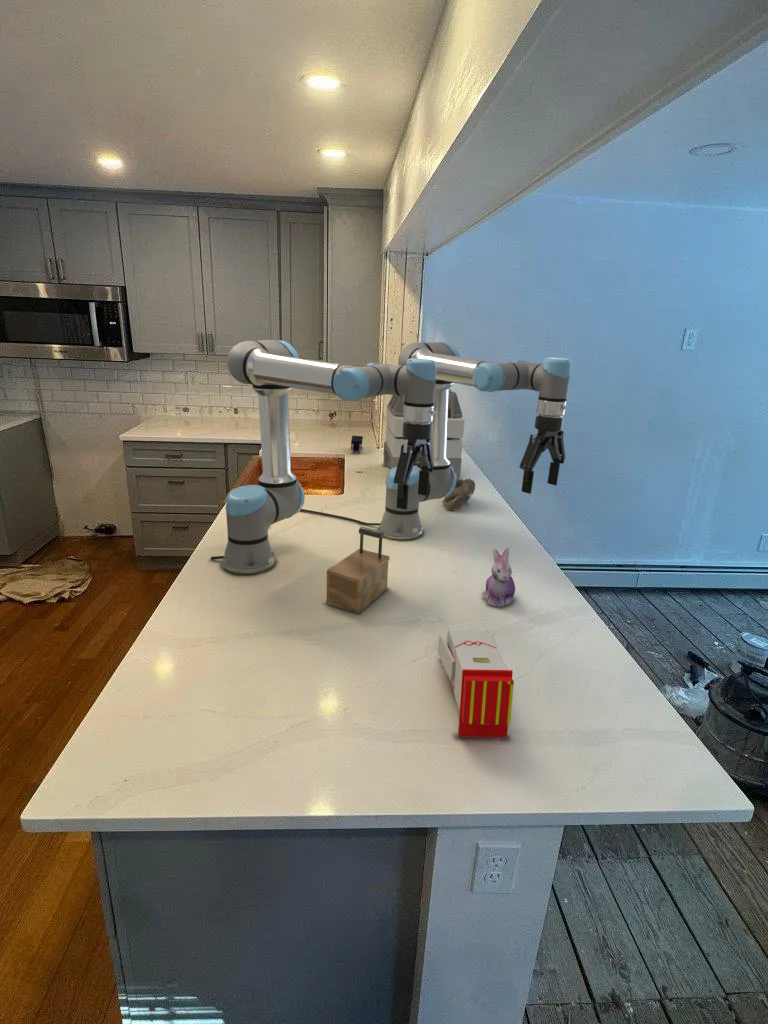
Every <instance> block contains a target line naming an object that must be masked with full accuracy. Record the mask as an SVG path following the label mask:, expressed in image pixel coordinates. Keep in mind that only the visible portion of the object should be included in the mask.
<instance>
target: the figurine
mask: <svg viewBox="0 0 768 1024" xmlns="http://www.w3.org/2000/svg"><path fill="white" fill-rule="evenodd" d="M492 552H493V553H492V554H493V564H492V567H491V569H490V570H491V575H490V576H489V577H488V578H487V579H486V581H485V591H484V599H485V600H486V601H487V603H488V604H489V605H491V606H494V607H504V606H508V605H510V604H511V603H512V602H513V600H514V596H515V593H516V584H515V581H514V579H513V577H512V573H513V570H512V566H511V564H510V562H509V557H510V548H509V547H505V549H504V550H503V552H502V553H501V554H500V552H499V551H498V549H497V548H493V549H492Z"/></svg>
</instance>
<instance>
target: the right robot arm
mask: <svg viewBox="0 0 768 1024" xmlns="http://www.w3.org/2000/svg"><path fill="white" fill-rule="evenodd" d="M411 358H419V359H430V360H433V361H435V363H436V378H437V380H436V385H435V396H434V411H435V414H433V421H432V422H430V423H432V425H433V426H432V437H431V449H432V457H433V464H434V466H433V472H430V474H429V488H428V495H427V496H425V495H420V494H418V485H419V471H423V470H421V468H420V465H419V462H418V464H417V466H413V469H412V471H411V474H410V477H409V480H408V483H407V484H408V485H409V489H408V505H407V509H406V510H405V509H400V508H397V490H398V484H395V483H394V477H395V473H396V469H397V467H394V468H392V469H391V470H390V469H389V470H388V472H387V475H386V479H385V504H384V505H385V507H384V508H385V509H384V513H383V515H382V519H381V522H365V521H361V520H358V519H355V518H350V517H347V516H342V515H338V514H331V513H326V512H321V511H316V510H310V509H304V508H301V510H300V511H299V512H304V513H305V512H306V513H311V514H316V515H322V516H326V517H330V518H331V517H333V518H336V519H340V520H341V519H342V520H346V521H351V522H355V523H357V524H361V525H365V526H378V531H382V532H384V537H383V538H387V539H389V540H395V541H410V540H415V539H418V538H420V537H421V536H422V535H423V525H422V524H421V518H420V515H419V507H420V506H419V505H420V503H421V502H426V501H427V502H428V501H432V500H438V499H442V498H444V497H445V496H448V495H449V494H450V493H452V491H453V490H454V488H455V485H456V473H454V469H453V468H452V467H451V466H450V461H449V460H448V459H447V458H446V447H447V421H448V396H449V389H451V387H452V386H453V385H454V384H459V385H464V386H468V387H473V388H476V389H477V390H478V391H479V392H485V393H493V392H500V391H503V392H504V391H516V390H517V391H519V390H526V391H527V390H528V391H535V392H538V400H537V406H536V412H535V413H536V415H535V421H534V429H536V430H537V433H536V434H533V433H531V434H530V435H529V440H528V444H527V446H526V449H525V451H524V454H523V456H522V459H521V462H520V463H519V467H518V468H519V469H521V470H523V475H522V485H521V492H522V493H525V494H529V495H530V494H532V490H533V482H534V474H535V471H534V468H535V466H536V464H537V462H538V461H539V460H540V458H541V455H542V454H543V453H544V452H546V450H548V452H549V455H550V458H551V461H550V463H549V469H548V476H547V482H546V483H547V484H549V485H552V486H558V479H559V473H560V466H561V465H563V464H564V463H565V461H566V450H565V441H564V434H565V431H564V430H563V426H564V417H563V416H564V415H565V411H566V409H567V406H566V405H567V397H568V393H569V388H570V387H569V386H570V381H571V377H572V361H571V359H569V358H565V357H550V356H549V357H545V358H544V359H543V361H542V363H537V362H530V361H526V360H512V361H511V362H495V361H488V360H482V359H476V358H475V359H474V358H469V357H462V356H461V353H460V352H459V349H457V347H456V346H455V345H454V344H452V343H451V342H449V343H448V342H442V341H439V342H438V341H436V342H420V341H419V342H418V341H417V342H412V343H409V344H407V345H406V346H405V347H403V349H401V350H400V353H399V356H398V360H397V361H398V364H397V365H399V366H406V362H407V360H408V359H411ZM429 463H430V462H429Z"/></svg>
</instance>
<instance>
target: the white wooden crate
mask: <svg viewBox="0 0 768 1024" xmlns="http://www.w3.org/2000/svg"><path fill="white" fill-rule="evenodd" d="M403 413H404V396H397V395H391V398H390V400H389V402H388V404H387V405H386V413H385V414H386V415H385V423H386V428H385V438H384V442H383V466H384V467H388V468H389V471H390V470H391V469H392V468H394V467H397V465H398V461H399V457H400V453H401V445H402V444H403V445H407V442H408V439H407V438H405V437H404V436H403V435H402V433H403V423H404V422H405V420H404V419H403ZM464 429H465V419H464V418H463V411H462V408H461V405H460V402H459V398H458V395H457V392H455V391H453V390H452V389H451V388H449V396H448V421H447V447H446V458H447V459H448V460H449V461H450V466H451V467H452V468H453V469H454V473H456V480H461V472H462V461H463V460H462V453H463V442H464V441H463V440H462V439H463V438H464V431H465V430H464ZM417 464H418V460H417V462H415V463H414V466H417Z"/></svg>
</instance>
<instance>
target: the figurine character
mask: <svg viewBox="0 0 768 1024" xmlns="http://www.w3.org/2000/svg"><path fill="white" fill-rule="evenodd" d="M363 439H364V436H363V435H351V441H350V451H352V454H355V453H357V454H360V451H362V450H363V449H364V447H363Z"/></svg>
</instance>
